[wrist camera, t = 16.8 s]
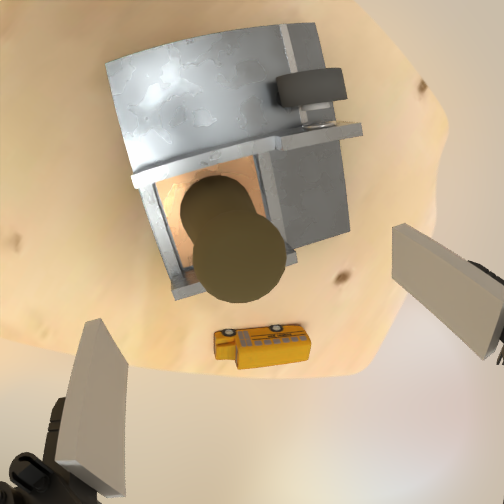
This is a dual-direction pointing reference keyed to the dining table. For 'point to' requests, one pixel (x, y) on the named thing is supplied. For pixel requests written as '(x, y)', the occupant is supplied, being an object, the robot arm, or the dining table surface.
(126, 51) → the dining table surface
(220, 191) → the olive brown pawn
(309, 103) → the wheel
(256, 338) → the toy bus
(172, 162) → the plate
